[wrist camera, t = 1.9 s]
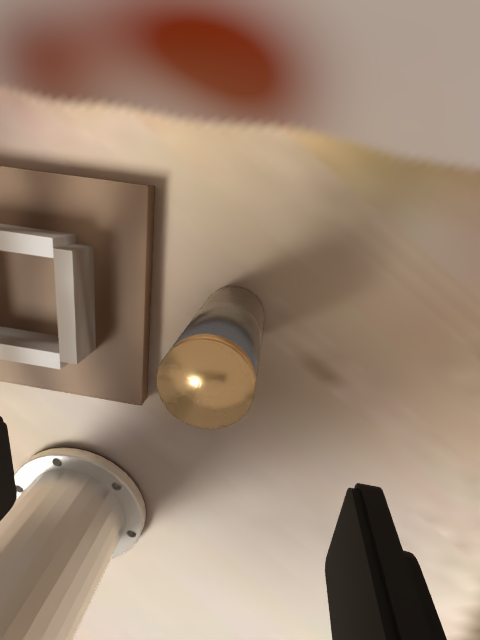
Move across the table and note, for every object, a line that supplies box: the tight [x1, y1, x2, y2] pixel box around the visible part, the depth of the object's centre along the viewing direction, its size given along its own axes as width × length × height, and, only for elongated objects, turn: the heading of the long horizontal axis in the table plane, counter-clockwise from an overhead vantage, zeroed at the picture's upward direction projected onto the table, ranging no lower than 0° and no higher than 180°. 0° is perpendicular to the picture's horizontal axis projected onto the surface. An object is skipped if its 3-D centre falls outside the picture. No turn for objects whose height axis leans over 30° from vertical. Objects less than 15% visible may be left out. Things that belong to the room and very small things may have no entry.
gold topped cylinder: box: [157, 286, 264, 429], centre depth 20 cm, size 4×4×10 cm
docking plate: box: [0, 166, 155, 406], centre depth 24 cm, size 16×16×4 cm
